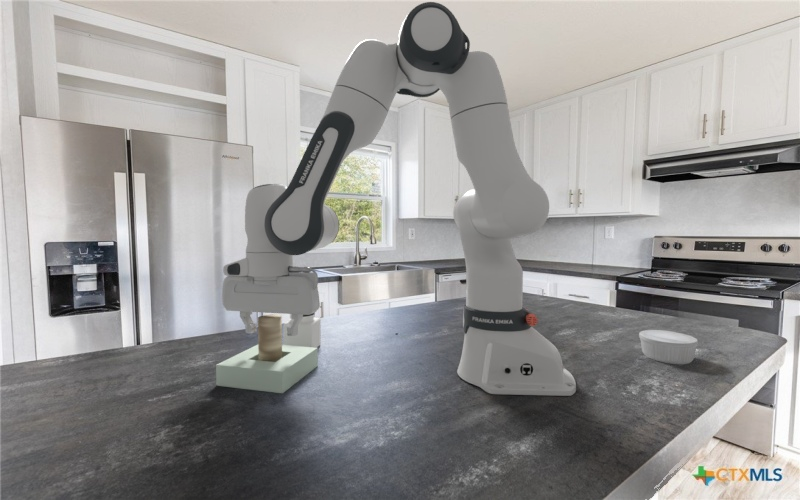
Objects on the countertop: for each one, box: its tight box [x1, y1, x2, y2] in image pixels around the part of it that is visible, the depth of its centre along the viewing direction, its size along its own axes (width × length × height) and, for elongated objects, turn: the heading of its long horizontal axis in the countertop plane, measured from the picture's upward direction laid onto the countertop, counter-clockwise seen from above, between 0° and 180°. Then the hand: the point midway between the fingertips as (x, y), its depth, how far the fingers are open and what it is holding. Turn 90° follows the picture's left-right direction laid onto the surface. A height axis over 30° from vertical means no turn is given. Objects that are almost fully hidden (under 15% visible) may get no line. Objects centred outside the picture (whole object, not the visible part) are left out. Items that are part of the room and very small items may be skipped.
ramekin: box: [638, 329, 699, 365], centre depth 86 cm, size 11×11×5 cm
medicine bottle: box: [282, 312, 322, 348], centre depth 91 cm, size 7×7×12 cm
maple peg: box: [257, 313, 283, 362], centre depth 74 cm, size 4×4×12 cm
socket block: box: [215, 344, 319, 394], centre depth 74 cm, size 14×14×4 cm
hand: (271, 333), depth 74 cm, fingers open, 8 cm apart
